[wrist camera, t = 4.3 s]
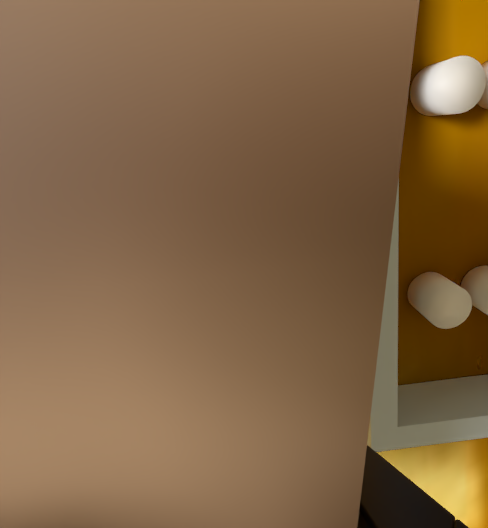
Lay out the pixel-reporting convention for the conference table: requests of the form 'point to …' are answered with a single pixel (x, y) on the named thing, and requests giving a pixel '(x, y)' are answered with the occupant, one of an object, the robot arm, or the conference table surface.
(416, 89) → the peg frame
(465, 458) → the conference table surface
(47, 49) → the brown block
